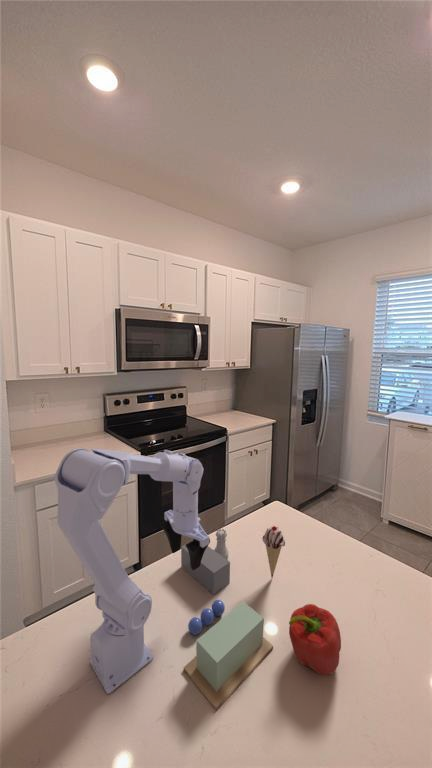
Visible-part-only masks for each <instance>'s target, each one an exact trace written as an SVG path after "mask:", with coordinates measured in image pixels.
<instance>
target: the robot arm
mask: <svg viewBox="0 0 432 768" xmlns="http://www.w3.org/2000/svg"><path fill="white" fill-rule="evenodd" d="M90 450H91V451H90ZM90 450H88V449H86V448H82V447H81V448H79V447H78V448H75V449H71V450H70V451H69V452H67V453H66V454H65V455H64V456H63V458H62V459H61V461H60V463H59V465H58V467H57V469H56V471H55V473H54V476H53V480H54V482H55V485H56V488H57V492H58V493H57V524H58V527H59V529H60V530H61V532H62V534H63V535H64V537H65V538H66V540H67V541H68V543H69V545H70V546H71V548H72V550H73V552H74V553H75V555H76V556H77V558H78V559H79V561H80V563H81V564H82V566H83V568H84V569H85V571H86V573H87V575H88V576H89V577H90V579H91V580H92V583H94V586H93V588H92V591H93V592H94V595H95V596H94V597H95V601H94V602H95V606H96V608H97V609H98V610H99V611H101V612H102V613H101V614H102V618H103V621H102V623H101V624H100V625H99V627H98V628H97V629H96V630H94V631H93V632H91V634H90V637H89V640H90V642H89V643H90V657H91V658H90V659H89V663H90V665H91V667H92V668H93V670H94V673H95V675H96V676H97V678H98V680H99V682H100V683H102V684H101V685H102V687H103V689H104V691H105V693H106V694H108V693H109V694H112V692H114V690H115V691H116V689H117V688H118V687H120V686H121V685H122V684H123V683H125V682H126V681H128V679H130V678H131V677H133V676H134V675H135V674H136V673H138V672H139V671H140V670H142V668H143V667H145V666H146V665H148V664H149V663H150V662H151V661H152V660H154V655H153V653H152V652H151V651H150V650H149V648H148V647H147V645H146V644H145V634H144V633H145V628H144V627H145V624H146V622H147V620H148V619H149V617H150V614H151V612H152V611H151V610H152V607H153V606H152V605H153V599H152V596H151V595H150V594H149V593H146V592H144V591H143V590H142V589H141V587H139V585H138V584H137V583H136V582H135V581H134V580H133V579H132V578H131V577H129V575H128V573H127V571H126V569H125V567H124V565H123V563H122V561H121V560H120V558H119V555H118V554H117V552H116V550H115V548H114V546H113V544H112V543H111V541H110V539H109V536H108V535H107V533H106V531H105V530H104V527H103V525H102V524H101V522H100V520H102V519H103V518H104V516H105V515H106V513H107V512H108V510H109V509H110V507H111V505H112V504H113V502H114V500H115V499H116V497H117V495H118V494H119V492H120V490H121V489H122V486H123V485H127V484H128V483H129V479H130V475H149V476H150V478H151V479H153V480H154V481H158V482H172V509H169V510H167V511H165V512H164V513H163V514H164V515H163V516H164V520H165V521H166V523H164V524H162V531H163V532H164V533H165V535H166V537H167V540H168V544H169V547H170V550H171V551H170V552H171V553H172V554H175V553H176V552H178V551H181V547H182V537H183V536H184V537H187V538H190V539H192V540H191V541H190V543H189V542H188V544H187V543H186V547H187V549H188V552H189V555H190V565H191V569H192V570H195V569H197V568H198V567H200V564H201V560H202V557H203V554H204V552H205V550H206V548H207V546H210V544H211V538H210V535H208V534H207V533H206V531H205V530H204V528H203V527H202V525H201V524H200V523H201V518H200V517H199V508H198V506H199V505H198V504H199V489H200V487H201V480H202V477H203V476H204V475H203V474H204V467H203V463H201V461H200V460H199V459H198V458H194V457H191V456H187V455H186V454H184V453H182V452H176V453H174V452H173V451H171V450H168V449H164V450H163V452H162V451H159V452H156V453H154V454H153V455H152V456H146V455H141V454H135V453H132V452H126V451H121V450H115V449H114V450H113V449H103V448H91V449H90Z"/></svg>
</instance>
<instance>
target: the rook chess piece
mask: <svg viewBox="0 0 432 768" xmlns="http://www.w3.org/2000/svg"><path fill="white" fill-rule="evenodd" d="M215 536H216V539H215V540H216V546H215V548H213V550H214V551H216V552H217V553H218V554H220V555H221V556H222V557H224V558H225V559H227V560H228V559H229V550H228V547H227V546H226V542H227V536H228V533H227V531H226V530H225V529H224V528H222V529H221V528H218V529H217V531H216V533H215Z"/></svg>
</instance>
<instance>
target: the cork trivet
mask: <svg viewBox="0 0 432 768" xmlns="http://www.w3.org/2000/svg"><path fill="white" fill-rule="evenodd" d="M273 649H274V645H273V644H272V643H271V642H270V641H268V640H267V639H266V638H265V637H264V636H263V644H262V645H261V646H260V647H259V648H258V649H257V650H256V651H255V652H254V653H253V654H252V655H251V657H250V658H249V659H248V660H247V661H246V662H245V663H244V664H243V665H242V666H241V667H240V668H239V669H238V670H237V671H236V672H235V673H234V674H233V675H232V676H231V677H230V678H229V679H228V680H227V681H226V683H225V684H224V685H223V686H222V687H221V688H220V689H219V690H218V691H217V692H216V690H215V689H214V688H213V687H212V686H211V684H210V683H209V682H208V681H207V680H206V679H205V677H204V676H203V675H202V674H201V673H200V671H199V670H198V669H197V668H196V656H194V657H193V658H192V659H191V660H190V661H189V662H188V663H187V664H185V665H184V666H183V671H184V673H186V675H187V676H188V678H189V679H190V680H191V681H192V683H194V685H195V686H196V688H197V689H198V690H199V691H200V692H201V693H202V695H203V696H204V697H205V698H206V699H207V702H209V703H210V705H211V706H212V707H213V708H214V710H215V711H217V710H218V709H219V708H220V707H221V706H222V705H223V704H224V703H225V702H226V701H227V699H228V698H230V696H231V695H232V694H233V693H234V692H235V690H236V689H237V688H238V687H240V685H241V684H242V683H243V682H244V681H245V680H246V679H247V678H248V677H249V675H250V674H251V673H252V672H253V671H254V670H255V669H256V668H257V667H258V666H259V664H261V662H263V660H264V659H265V658H266V656H267V655H268V654H269V653H270V652H271V651H272V650H273Z"/></svg>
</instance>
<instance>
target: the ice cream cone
mask: <svg viewBox="0 0 432 768" xmlns="http://www.w3.org/2000/svg"><path fill="white" fill-rule="evenodd" d="M262 542H263V543H264V544H265V549H266V553H267V559H268V560H267V561H268V565H269V570H270V576H271V579H273V577H274V574H275V569H276V567H277V564H278V561H279V557H280V554H281V549H282V547H285V546H286V539H285V537H284V535H283V533H282V531H281V529H279V527H277V526H275V525H273V526H271V527H268V528H266V531H265V533H264V535H263V536H262Z"/></svg>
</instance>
